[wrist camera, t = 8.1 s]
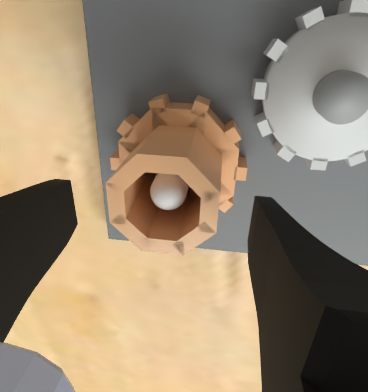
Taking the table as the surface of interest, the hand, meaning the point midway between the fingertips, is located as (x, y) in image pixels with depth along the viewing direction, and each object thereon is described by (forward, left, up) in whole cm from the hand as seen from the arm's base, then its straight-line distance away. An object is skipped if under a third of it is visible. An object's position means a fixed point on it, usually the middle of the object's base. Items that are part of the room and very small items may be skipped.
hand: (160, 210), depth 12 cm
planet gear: (0, 0, -6) cm, 6 cm away
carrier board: (+7, +4, -7) cm, 10 cm away
